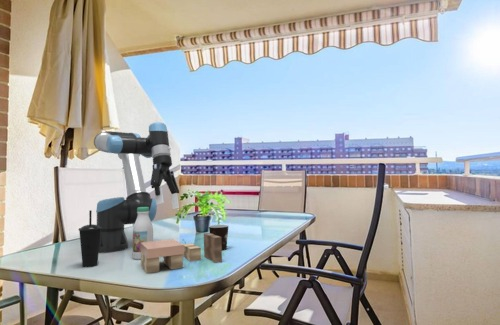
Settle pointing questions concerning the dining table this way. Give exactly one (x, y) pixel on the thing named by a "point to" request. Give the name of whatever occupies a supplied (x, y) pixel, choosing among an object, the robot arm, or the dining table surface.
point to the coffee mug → (220, 233)
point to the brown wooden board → (213, 247)
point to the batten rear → (149, 264)
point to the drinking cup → (90, 243)
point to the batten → (192, 252)
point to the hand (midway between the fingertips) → (168, 206)
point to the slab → (161, 248)
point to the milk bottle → (141, 230)
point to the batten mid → (174, 261)
